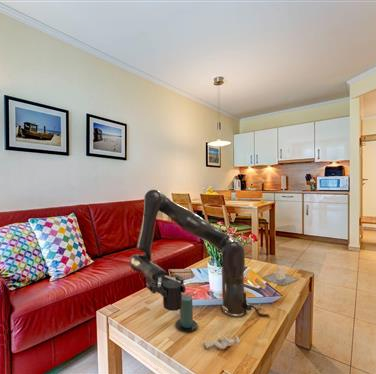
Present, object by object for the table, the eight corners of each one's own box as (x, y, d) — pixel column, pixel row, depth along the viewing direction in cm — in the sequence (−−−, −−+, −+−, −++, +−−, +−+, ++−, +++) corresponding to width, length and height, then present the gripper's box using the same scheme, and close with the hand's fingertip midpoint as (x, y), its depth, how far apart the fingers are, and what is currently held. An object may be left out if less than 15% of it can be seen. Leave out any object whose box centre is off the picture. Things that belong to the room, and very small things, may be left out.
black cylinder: (179, 300, 88) (178, 279, 88) (183, 310, 82) (183, 287, 81) (162, 301, 88) (161, 280, 88) (165, 311, 81) (164, 288, 81)
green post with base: (193, 319, 102) (192, 292, 101) (199, 331, 93) (198, 302, 93) (174, 320, 101) (173, 293, 101) (179, 333, 93) (178, 303, 92)
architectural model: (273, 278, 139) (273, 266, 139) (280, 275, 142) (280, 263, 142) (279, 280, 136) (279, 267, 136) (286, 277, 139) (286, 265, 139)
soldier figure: (203, 343, 88) (231, 330, 89) (210, 358, 85) (239, 344, 86) (204, 339, 82) (234, 326, 83) (211, 355, 79) (242, 341, 80)
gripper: (139, 268, 95) (156, 285, 80) (169, 263, 100) (192, 278, 85) (139, 286, 95) (157, 307, 80) (170, 280, 101) (192, 298, 85)
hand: (175, 292), depth 83 cm, fingers closed on black cylinder, 7 cm apart
